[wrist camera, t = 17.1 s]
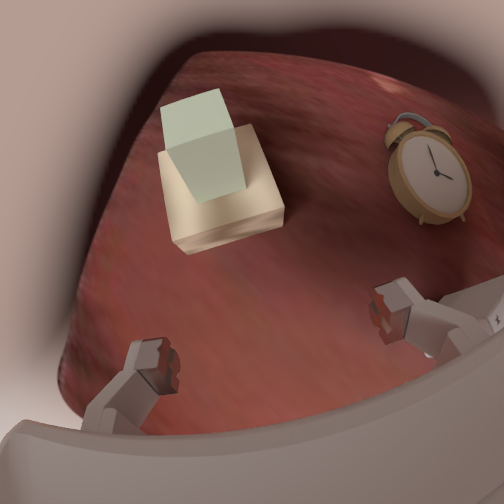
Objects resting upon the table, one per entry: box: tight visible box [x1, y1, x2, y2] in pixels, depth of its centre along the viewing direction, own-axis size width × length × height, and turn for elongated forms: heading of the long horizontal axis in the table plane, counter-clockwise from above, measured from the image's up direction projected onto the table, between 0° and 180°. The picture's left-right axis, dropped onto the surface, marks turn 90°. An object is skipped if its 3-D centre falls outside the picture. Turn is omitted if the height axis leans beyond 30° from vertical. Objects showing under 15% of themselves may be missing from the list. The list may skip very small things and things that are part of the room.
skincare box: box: [424, 275, 504, 358], centre depth 18 cm, size 6×4×12 cm
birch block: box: [158, 124, 285, 255], centre depth 27 cm, size 10×10×5 cm
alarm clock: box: [384, 113, 472, 225], centre depth 27 cm, size 11×5×15 cm
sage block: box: [160, 89, 247, 204], centre depth 20 cm, size 4×4×8 cm
